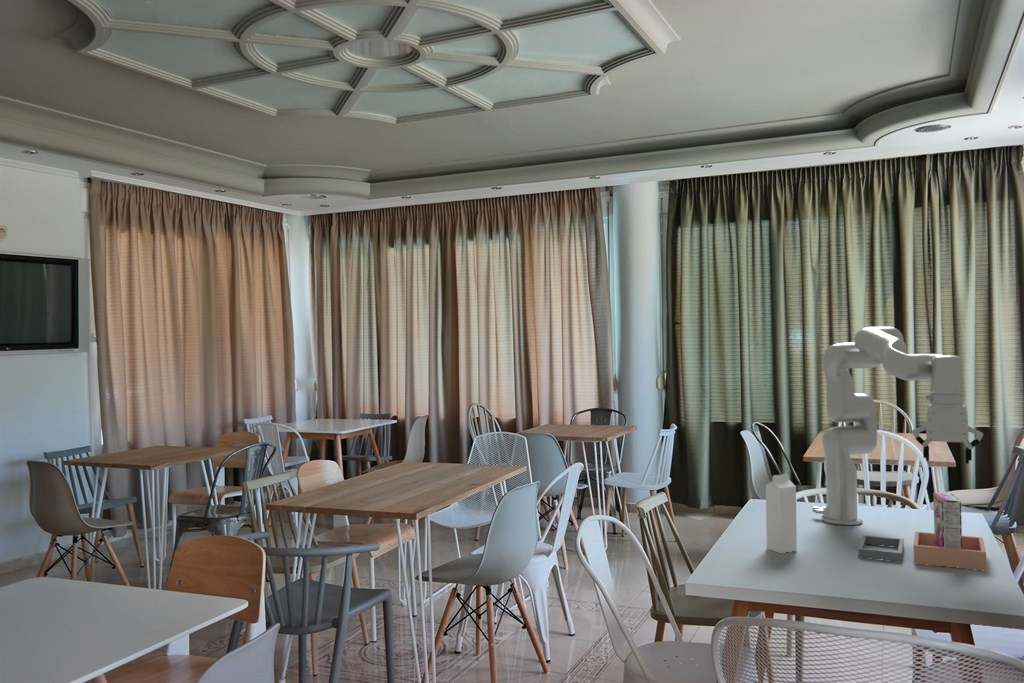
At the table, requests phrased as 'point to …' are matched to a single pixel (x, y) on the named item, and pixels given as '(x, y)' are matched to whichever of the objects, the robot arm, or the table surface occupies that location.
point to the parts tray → (880, 553)
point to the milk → (781, 514)
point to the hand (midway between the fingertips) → (947, 461)
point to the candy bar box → (947, 521)
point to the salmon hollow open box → (950, 552)
